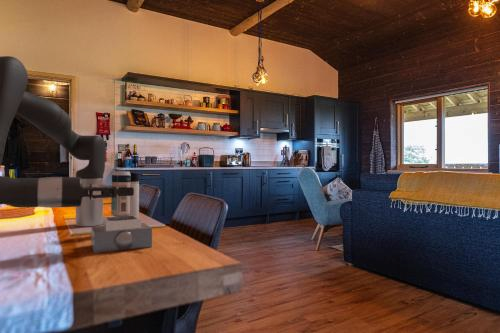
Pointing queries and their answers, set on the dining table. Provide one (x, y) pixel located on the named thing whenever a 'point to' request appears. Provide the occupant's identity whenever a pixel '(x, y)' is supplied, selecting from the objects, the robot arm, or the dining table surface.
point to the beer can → (121, 203)
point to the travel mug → (135, 198)
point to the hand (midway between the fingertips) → (131, 190)
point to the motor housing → (120, 234)
